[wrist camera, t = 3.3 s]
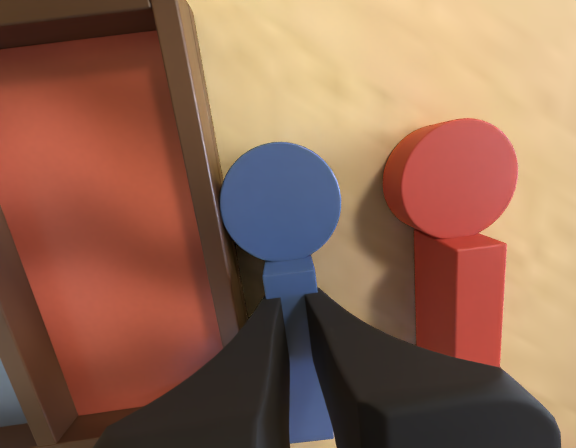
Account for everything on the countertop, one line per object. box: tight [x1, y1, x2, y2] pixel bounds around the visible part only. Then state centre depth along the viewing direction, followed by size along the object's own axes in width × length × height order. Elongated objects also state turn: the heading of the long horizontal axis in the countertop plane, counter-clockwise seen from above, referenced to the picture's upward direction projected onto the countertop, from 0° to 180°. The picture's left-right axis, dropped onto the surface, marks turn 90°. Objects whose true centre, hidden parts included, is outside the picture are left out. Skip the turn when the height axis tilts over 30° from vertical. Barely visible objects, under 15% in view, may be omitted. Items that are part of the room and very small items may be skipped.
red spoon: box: [383, 118, 518, 367], centre depth 11 cm, size 12×4×3 cm, turn 7°
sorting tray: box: [0, 0, 248, 448], centre depth 11 cm, size 17×17×2 cm
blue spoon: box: [220, 142, 341, 444], centre depth 11 cm, size 12×4×3 cm, turn 7°
